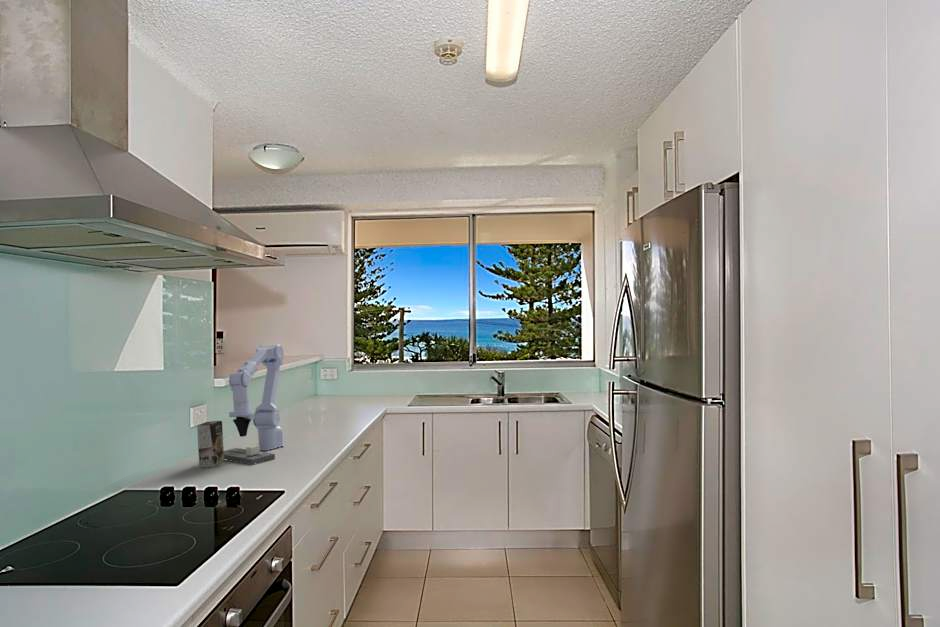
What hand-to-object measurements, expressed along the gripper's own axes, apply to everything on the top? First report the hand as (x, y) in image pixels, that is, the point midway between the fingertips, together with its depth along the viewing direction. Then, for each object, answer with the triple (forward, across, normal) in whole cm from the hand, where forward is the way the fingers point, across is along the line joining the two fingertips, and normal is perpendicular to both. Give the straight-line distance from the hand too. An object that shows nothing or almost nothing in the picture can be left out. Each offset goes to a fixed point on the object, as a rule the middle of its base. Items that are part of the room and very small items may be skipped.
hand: (243, 436), depth 257 cm
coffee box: (+9, -3, -12) cm, 15 cm away
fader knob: (+7, +6, 0) cm, 9 cm away
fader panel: (+9, 0, 0) cm, 9 cm away
